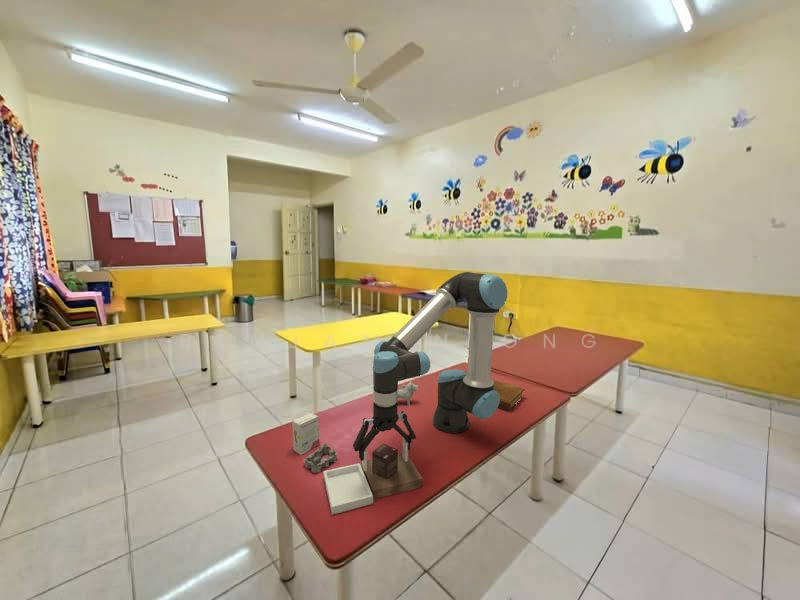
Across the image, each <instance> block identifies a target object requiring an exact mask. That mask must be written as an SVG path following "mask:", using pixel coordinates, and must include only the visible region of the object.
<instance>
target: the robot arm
mask: <svg viewBox="0 0 800 600" xmlns="http://www.w3.org/2000/svg"><path fill="white" fill-rule="evenodd" d="M506 301H508V287H507V284H506V282H505V281H504V280H503V278H502V277H500V276H498V275H494V274H490V273H480V272H470V271H465V272H460V273H457V274H456V275H453V276H452V277H450V278H449V279H447V280H446V281H444V283H443V284H441V285H440V286H439V287H438V288H437V289H436V290H435V295H433V296H432V298H431V299H429V300H428V302H426V303H425V305H424V306H423V307H421V308H420V310H419V311H418V312H416V314H414V315H413V317H411V318H410V319H409V320H408V321H407V322H406V323H405V324H404V325H403V326H402V327H401V328H400V329H399V330H398V331H397V332H396V333H395V334H394V335H393V336H391V338H390V339H389V340H383V341H382V340H381V341H379V342H378V343H377V344H376V346H375V347H374V350H373V351H374V352H373V354H374V356H373V361H372V374H373V375H372V379H373V381H372V384H373V385H372V386H373V388H372V389H373V393H372V394H373V395H372V396H373V397H372V398H373V403H372V405H373V407H372V408H373V409H372V411H373V413H372V415H373V417H372V418H367V417H364V418H363V419H362V425H361V426H360V429H359V431H358V434H357V436H356V438H355V440H354V442H353V444H352V447H353V449H354V451H355V452H358V458H359V460H360V461H361V468H362V467H363V469H364V471H367V461H368V458H367V457H368V456H367V455H368V454H367V453H368V451H367V448H368V447H369V445H370V444H371V442H372V441H373V440H374V439H375V437H376V436H377V435H379V433H380V432H383V433H384V432H386V431H388V432H389V431H392V429H394V431H396V432H397V433H398V434H399V435H400V436H401V437H402V450H401V451H402V453H401V454H402V457H403V459H404V461H405V462H407V461H408V456H409V455H408V454H409V453H408V452H409V451H410V450H411V443H413V441H412V440H415V439H417V436H416V434H415V432H414V430H413V428H412V427H411V424H410V422H409V421H408V415H407V413H406V412H405V411H404V410H402V411H401V412H400V413H398V405H399V403H398V399H399V398H398V388H399V382H401V381H405V380H408V379H413V378H417V377H421V376H422V375H425V374H426V375H427V374H428V373H429V371H430V368H431V361H430V360H431V359H430V358H429V356H428V354H427V353H426V352H424V351H415V352H411V351H410V350H411V349H412V348H413V347H414V346H415V345H416V344H417V342H418V341H419V340H421V338H423V337H424V336H425V334H426V333H427V332H429V330H430V329H432V327H434V325H435V324H436V323H437V322H439V320H440V319H441V318H442V317H443V316H444V315H445V314H446V313H447V312H448V311H449V310H450V309H454V308H456V306H457V305H459V304H461V303H466V311H467V312H468V314H470V318H469V319H470V320H469V322H470V323H469V334H468V335H469V337H468V339H469V340H468V355H467V371H465V370H462V369H445V370H443V371H440V373H438V379H437V405H436V408H435V410H434V413H433V417H432V425H433V427H435V428H436V429H438V430H439V431H442V432H444V433H449V434H450V433H451V434H458V433H462V432H465V431H466V430H467V429H468V428H469V426H470V425H469V424H470V419H469V415H468V414H470V415H472V416H473V417H476V418H478V419H481V420H486V419H488V418H490V417H492V415H494V414H495V412H496V411H497V409H498V408H497V407H498V405H499V402H500V396H499V394H498V392H497V391H495V390H494V381H495V380H494V381H493V378H491V374H492V373H491V372H492V371H491V370H492V360H493V359H492V357H493V345H494V344H493V343H494V342H493V341H494V329H495V327H494V326H495V317H496V316H497V314H499V313H500V309H501V308H503V307H504V306H505V305H506V303H505V302H506ZM399 420H400V421H402V423H403V425H404V426H405V428H406V430H407V432H408V433H406V432H405V431H404V430H403V428H401V427H400V426H399V425H398V424H397V423H398V421H399ZM371 424H372V426H371ZM370 427H371V428H370ZM369 428H370V430H369Z"/></svg>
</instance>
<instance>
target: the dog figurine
mask: <svg viewBox="0 0 800 600" xmlns="http://www.w3.org/2000/svg"><path fill="white" fill-rule="evenodd" d="M418 389H419V385H418V384H415V383H413V381H411V380H410V381H409V382H408V383H407V384H406V385H405V384H402V385H401V388H400V389H398V399H403V400H406V402H407V406H408V407H410V406H411V403H410V400H411V398H412V397H413V395H414V392H416V391H417V390H418Z"/></svg>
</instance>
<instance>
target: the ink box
mask: <svg viewBox="0 0 800 600" xmlns="http://www.w3.org/2000/svg"><path fill="white" fill-rule="evenodd" d="M319 421H320V420H319V416H318V415H316V414H315V413H313V412H310V413H307V414H305V415H303V416H301V417H298V418H295V419H293V420H292V422H291V423H292V446H293V451H294V452H296V453H297V454H298V455H300V456H302V455H304V454H306V453H307V452H309V451H311V450H313V449H315V448H317V447H318V446H321V441H320V425H319V424H320V422H319Z"/></svg>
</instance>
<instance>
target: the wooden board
mask: <svg viewBox="0 0 800 600" xmlns="http://www.w3.org/2000/svg"><path fill="white" fill-rule="evenodd" d="M361 468H362V470H363V473H364V475H365V477H366V480H367V482H368V485H369V487H370V490H371V492H372V495H373V501H374V500H377V499H380V498H385V497H389V496H393V495H396V494H400V493H404V492H408V491H411V490H416V489H419V488H418V487H420V488H423V477H422V475H421V474H420V472H419V470H418V469H417V468H416V466H415V464H414V463H413V462H412V460H411V458H410V456H409V455H408V461H407V462H405V461H404V459H403V457H402V453H398V470H396V471H395V472H394V473H393V474H392V475H391V476H390V477H389V478H388V479H384V478H382V477H381V476H379V475H377V474H374V473H373V472H372V459H370V460H367V471H364V469H363V467H362V466H361ZM415 488H416V489H415Z"/></svg>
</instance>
